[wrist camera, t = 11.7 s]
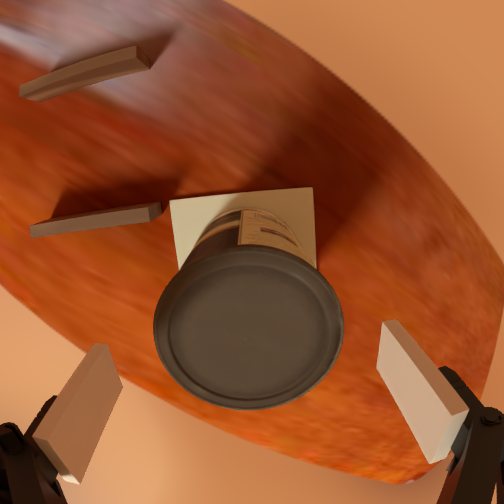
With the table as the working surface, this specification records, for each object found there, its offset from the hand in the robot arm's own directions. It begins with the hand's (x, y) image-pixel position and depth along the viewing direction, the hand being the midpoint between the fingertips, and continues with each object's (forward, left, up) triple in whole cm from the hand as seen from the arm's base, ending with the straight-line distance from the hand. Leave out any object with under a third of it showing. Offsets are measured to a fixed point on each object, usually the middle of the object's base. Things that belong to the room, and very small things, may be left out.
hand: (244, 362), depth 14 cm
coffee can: (0, 0, -17) cm, 17 cm away
